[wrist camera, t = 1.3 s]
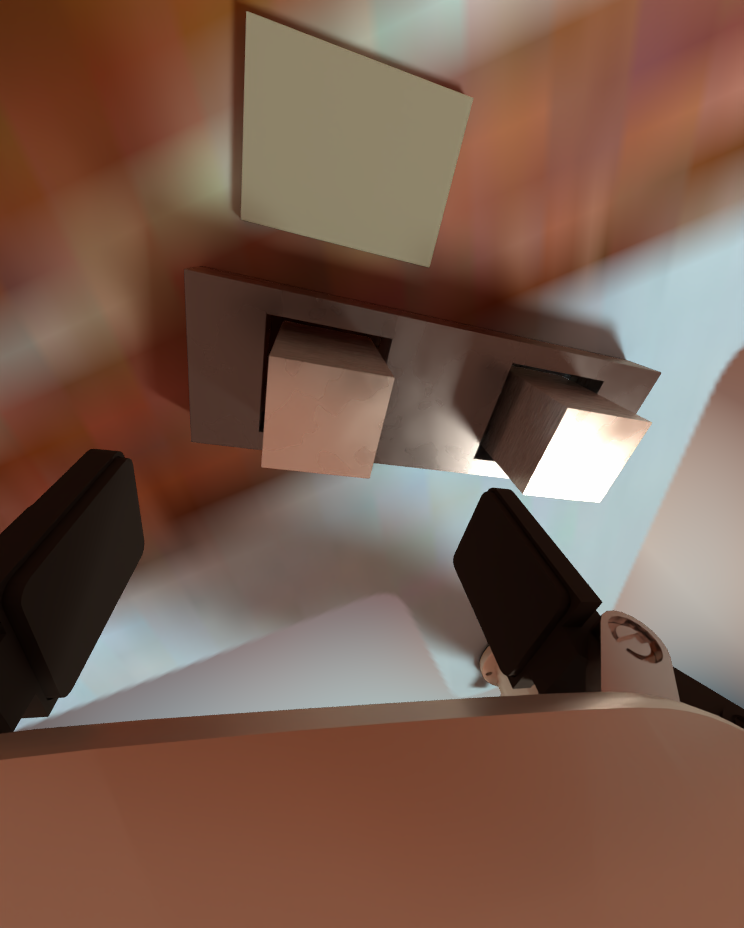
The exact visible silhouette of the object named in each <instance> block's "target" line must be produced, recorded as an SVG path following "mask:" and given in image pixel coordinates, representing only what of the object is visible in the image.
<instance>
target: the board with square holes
mask: <svg viewBox="0 0 744 928" xmlns="http://www.w3.org/2000/svg"><path fill="white" fill-rule="evenodd" d="M184 281H185V305H186V329H187V353H188V377H189V401H190V425H191V442H196V443H205V444H213V445H222V446H231V447H240V448H248V449H257V450H262V449H263V435H264V420H265V398H266V384H267V369H268V355H269V341H270V326H271V315H276V316H281V317H286V318H291V319H296V320H301V321H306V322H311V323H316V324H321V325H326V326H331V327H336V328H341V329H346V330H351V331H356V332H361V333H366V334H371V335H376V336H381V341H380V345H379V350H378V352H379V353H380V355H381V356H382V358H383V360H384V361H385V363H386V365H387V366H388V368H389V369H390V371H391V373H392V374H393V376H394V377H395V379H394V383H393V387H392V391H391V395H390V399H389V403H388V407H387V411H386V415H385V419H384V423H383V427H382V431H381V434H380V438H379V442H378V446H377V450H376V454H375V458H374V462H373V463H379V464H388V465H396V466H405V467H414V468H423V469H431V470H440V471H449V472H457V473H466V474H475V475H484V476H492V477H501V478H509V477H508V476H507V475H506V474H505V473H504V471H503V470H502V469H501V468H500V467H499V466H498V464H497V463H496V462H495V461H494V460H493V458H492V457H491V456H490V455H489V454H488V453H487V451H486V450H485V449H484V448H483V447H482V445H481V444H480V441H481V439H482V436H483V434H484V432H485V429H486V427H487V424H488V422H489V419H490V417H491V414H492V412H493V410H494V407H495V405H496V402H497V400H498V397H499V395H500V392H501V390H502V388H503V385H504V383H505V380H506V378H507V375H508V373H509V370H510V368H511V366H512V363H516V364H521V365H526V366H531V367H536V368H541V369H546V370H551V371H556V372H561V373H566V374H571V376H570V378H569V380H571V381H573V382H575V383H577V384H579V385H581V386H583V387H585V388H587V389H588V390H590V391H592V392H594V393H596V394H598V395H600V396H602V397H604V398H606V399H608V400H610V401H612V402H614V403H615V404H617V405H619V406H621V407H623V408H625V409H627V410H629V411H631V412H633V413H635V414H636V413H637V411H638V410H639V408H640V407H641V405H642V403H643V402H644V400H645V399H646V397H647V395H648V394H649V392H650V391H651V389H652V387H653V386H654V384H655V383H656V381H657V379H658V378H659V376H660V375H661V372H659V371H656V370H653V369H650V368H647V367H645V366H642V365H639V364H636V363H634V362H631V361H628V360H625V359H620V358H616V357H611V356H606V355H602V354H597V353H593V352H588V351H584V350H579V349H575V348H570V347H566V346H561V345H557V344H552V343H548V342H543V341H539V340H534V339H529V338H525V337H520V336H516V335H511V334H507V333H502V332H498V331H493V330H489V329H484V328H480V327H475V326H471V325H466V324H462V323H457V322H453V321H448V320H443V319H439V318H434V317H430V316H425V315H421V314H416V313H412V312H407V311H403V310H398V309H394V308H389V307H385V306H380V305H376V304H371V303H366V302H362V301H357V300H353V299H348V298H344V297H339V296H335V295H330V294H326V293H321V292H317V291H312V290H308V289H303V288H299V287H294V286H290V285H285V284H280V283H276V282H271V281H267V280H262V279H258V278H253V277H249V276H244V275H240V274H235V273H231V272H226V271H222V270H217V269H213V268H208V267H204V266H199V267H193V268H187V269H184Z"/></svg>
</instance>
